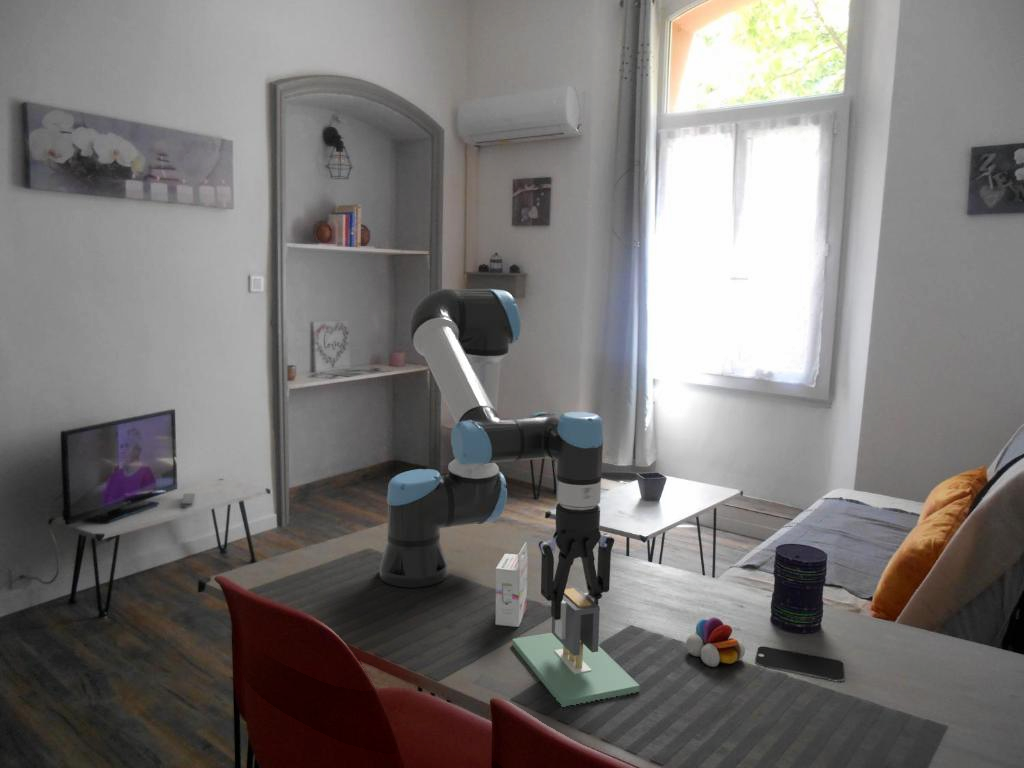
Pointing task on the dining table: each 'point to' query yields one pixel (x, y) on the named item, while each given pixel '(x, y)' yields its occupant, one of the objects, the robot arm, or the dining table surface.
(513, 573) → the ink cartridge box
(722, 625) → the rainbow wheeled toy
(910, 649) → the dining table surface
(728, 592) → the dining table surface
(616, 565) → the dining table surface
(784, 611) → the storage jar
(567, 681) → the header board
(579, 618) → the plug housing
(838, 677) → the smartphone
